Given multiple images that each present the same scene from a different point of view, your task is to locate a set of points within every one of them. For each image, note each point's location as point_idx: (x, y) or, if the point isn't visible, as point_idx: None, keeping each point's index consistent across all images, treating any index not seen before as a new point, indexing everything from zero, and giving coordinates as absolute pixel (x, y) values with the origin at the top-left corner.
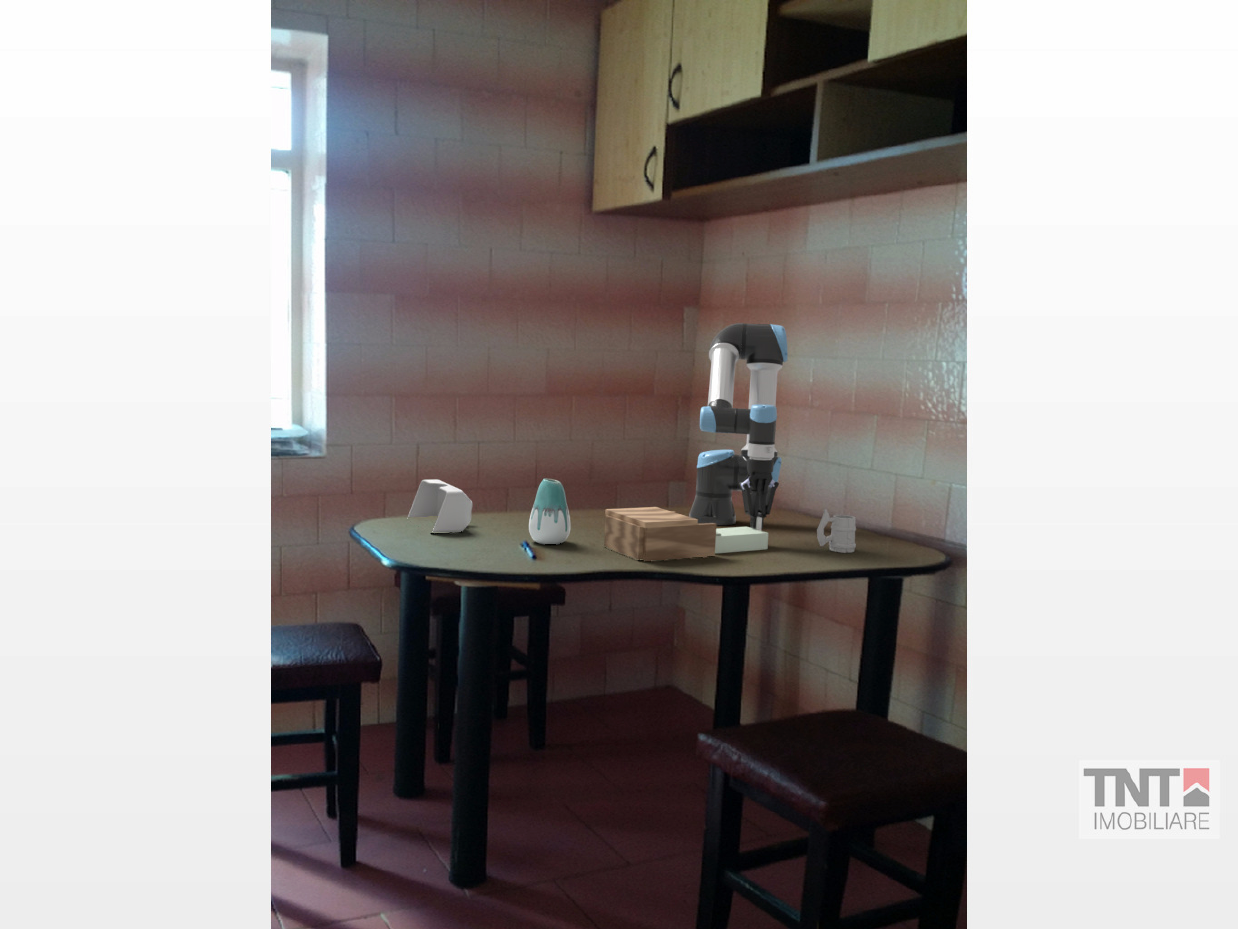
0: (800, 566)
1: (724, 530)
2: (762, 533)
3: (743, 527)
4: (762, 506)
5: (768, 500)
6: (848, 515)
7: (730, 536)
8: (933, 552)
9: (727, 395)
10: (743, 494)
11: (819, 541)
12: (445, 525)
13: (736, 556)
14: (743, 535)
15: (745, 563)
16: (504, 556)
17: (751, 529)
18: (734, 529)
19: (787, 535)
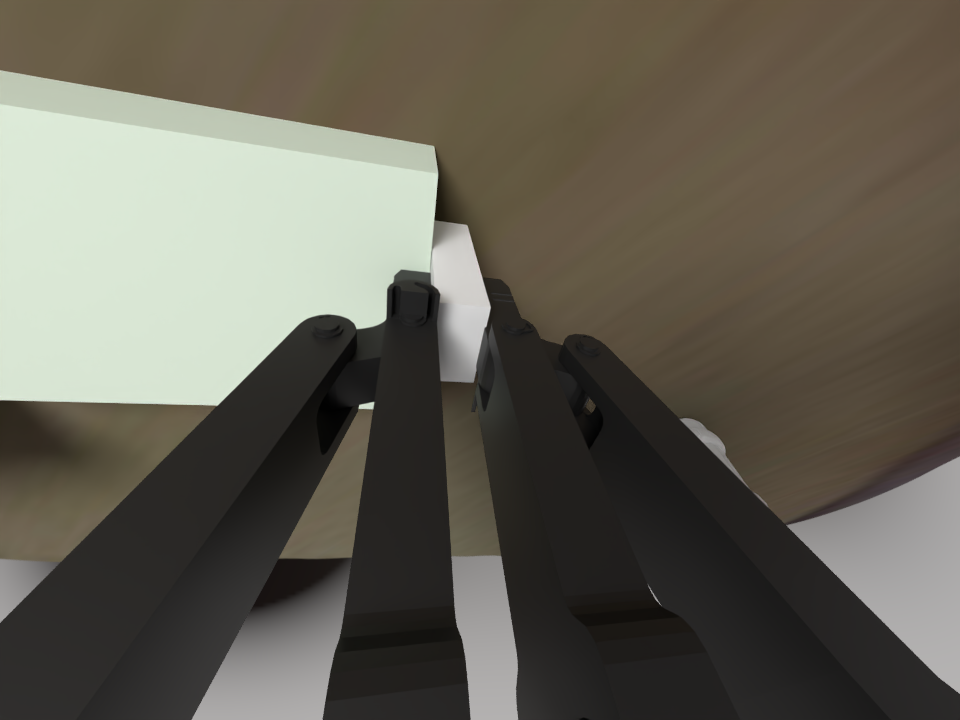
0: (330, 534)
1: (61, 234)
2: (368, 408)
3: (371, 198)
4: (491, 469)
5: (625, 518)
6: None
7: (66, 396)
8: (801, 508)
9: None
10: (11, 668)
11: None
12: None
13: (141, 406)
14: (199, 400)
15: (134, 487)
16: None
17: (383, 297)
18: (211, 237)
19: (925, 94)
